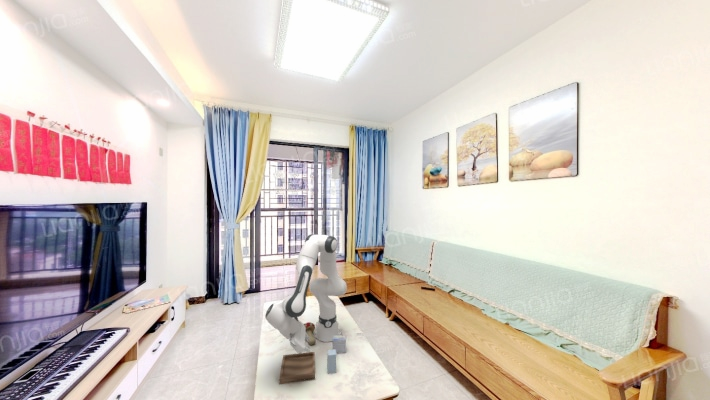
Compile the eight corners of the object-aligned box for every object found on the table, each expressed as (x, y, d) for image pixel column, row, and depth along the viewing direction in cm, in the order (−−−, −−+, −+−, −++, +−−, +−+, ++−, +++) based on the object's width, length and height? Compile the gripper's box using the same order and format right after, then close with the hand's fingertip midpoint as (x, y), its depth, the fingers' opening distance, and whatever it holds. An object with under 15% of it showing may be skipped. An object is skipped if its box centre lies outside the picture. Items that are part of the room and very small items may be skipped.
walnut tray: (283, 359, 136) (283, 355, 136) (314, 356, 139) (314, 351, 139) (279, 384, 118) (279, 379, 118) (315, 379, 121) (315, 374, 121)
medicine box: (345, 348, 146) (345, 335, 146) (345, 353, 142) (345, 339, 142) (333, 348, 146) (333, 335, 146) (332, 353, 141) (332, 339, 141)
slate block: (327, 367, 130) (327, 350, 130) (335, 366, 131) (335, 349, 130) (327, 373, 125) (328, 355, 125) (336, 372, 126) (336, 354, 126)
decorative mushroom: (317, 333, 147) (308, 315, 158) (302, 346, 143) (294, 327, 155) (324, 341, 153) (315, 323, 165) (309, 353, 150) (301, 334, 161)
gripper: (293, 336, 114) (314, 353, 116) (296, 314, 134) (313, 330, 136) (284, 346, 113) (304, 363, 115) (288, 323, 133) (305, 338, 135)
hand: (309, 345), depth 125 cm, fingers open, 8 cm apart
